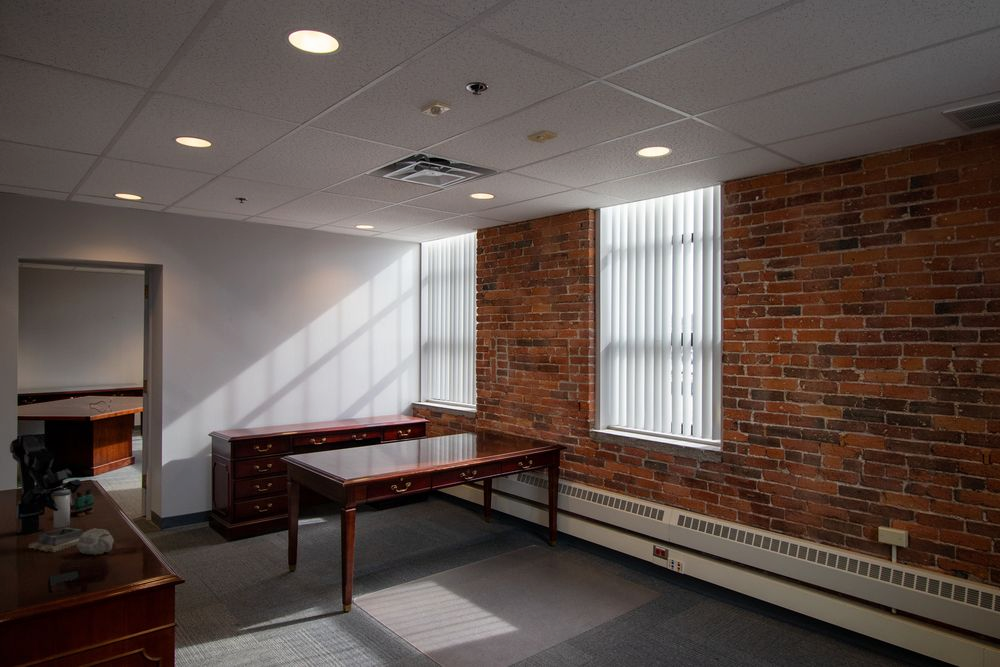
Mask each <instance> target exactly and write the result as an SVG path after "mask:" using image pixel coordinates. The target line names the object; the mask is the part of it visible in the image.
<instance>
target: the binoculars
mask: <svg viewBox="0 0 1000 667" xmlns="http://www.w3.org/2000/svg"><path fill="white" fill-rule="evenodd" d="M91 492H92V489H91V488H89V489H86V490H85V491H84V493H85V494H84V495H83V492H80V491H79V492H75V493H76V494H75V495H76V497H75V498H74V501H73V502H74V504H72V505H73V506H72V507H70V516H75V514H76V516H77V517H83V516H82V515H84V516H85V513H86V514H92V513H91V512H93V513H94V512H95V511H94V509H93V507H95V503H94V502H95V501H94V496H93V495H94V494H92V493H91ZM71 511H72V512H71ZM73 511H74V512H73Z"/></svg>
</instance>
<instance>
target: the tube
mask: <svg viewBox="0 0 1000 667" xmlns="http://www.w3.org/2000/svg"><path fill="white" fill-rule="evenodd" d="M70 494H71V490H68V489H66V490H58V491H54V492H53V494H52V495H53V501H54V502H55V504H56V505H57V507H58V510H57V511H54V510H53V528H56V529H57V528H58V529H60V528H64V527H68V526H70V525H71V515H70V513H71V510H70ZM71 495H72V494H71Z"/></svg>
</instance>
